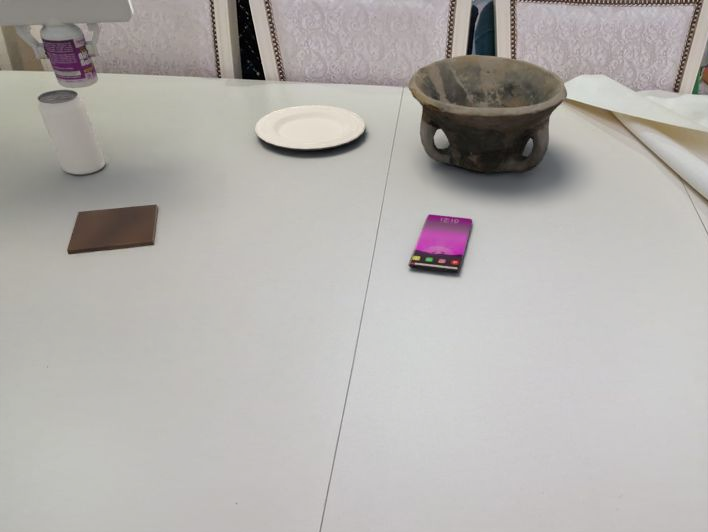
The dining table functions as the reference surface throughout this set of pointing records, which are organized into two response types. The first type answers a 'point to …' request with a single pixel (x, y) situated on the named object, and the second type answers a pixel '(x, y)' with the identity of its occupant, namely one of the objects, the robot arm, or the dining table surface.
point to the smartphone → (441, 243)
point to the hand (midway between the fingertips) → (70, 56)
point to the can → (71, 132)
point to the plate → (310, 127)
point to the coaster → (113, 228)
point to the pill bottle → (68, 54)
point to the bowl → (487, 111)
